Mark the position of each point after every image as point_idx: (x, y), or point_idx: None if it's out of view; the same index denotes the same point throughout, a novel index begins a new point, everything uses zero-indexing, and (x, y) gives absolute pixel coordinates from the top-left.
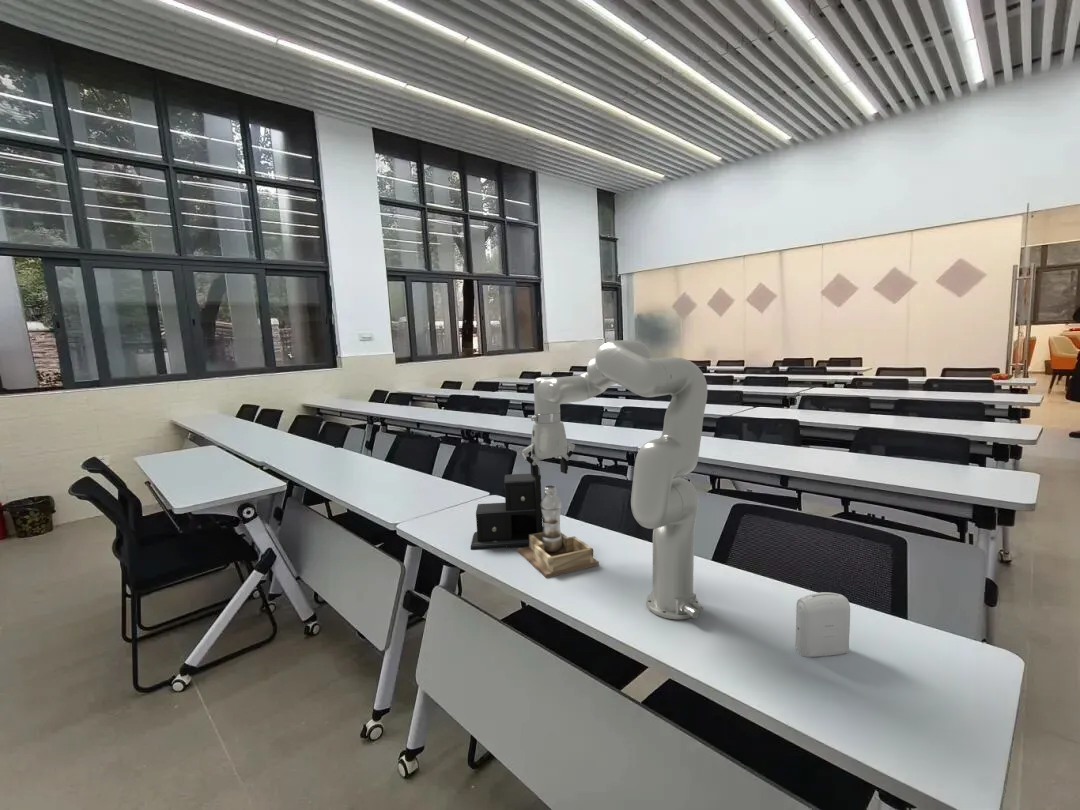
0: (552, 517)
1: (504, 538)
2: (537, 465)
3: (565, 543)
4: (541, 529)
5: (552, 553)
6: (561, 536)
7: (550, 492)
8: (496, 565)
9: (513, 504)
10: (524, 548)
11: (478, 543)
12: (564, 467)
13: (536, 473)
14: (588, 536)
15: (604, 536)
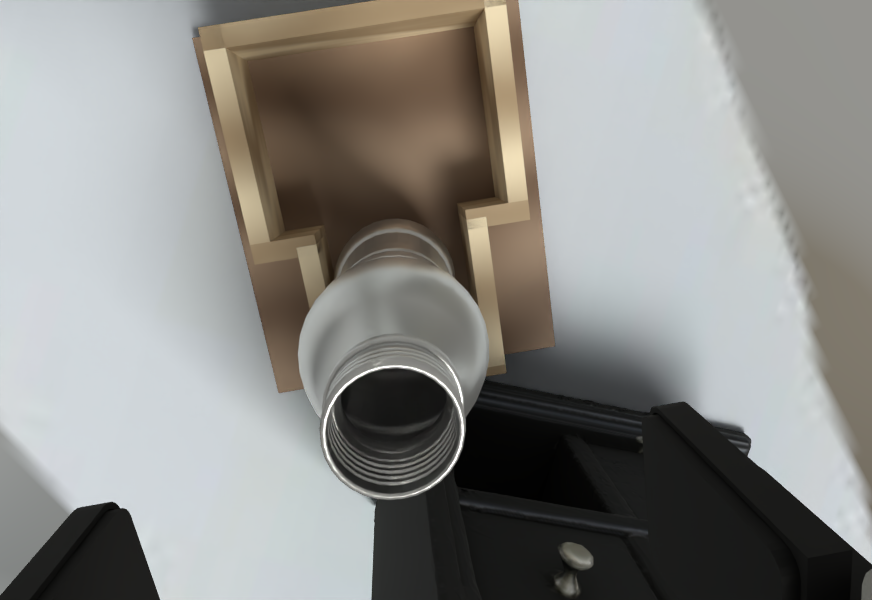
0: (406, 255)
1: (599, 448)
2: (802, 551)
3: (322, 247)
4: None
5: None
6: None
7: (415, 346)
8: (690, 224)
9: (618, 562)
10: (522, 337)
11: None
12: (72, 598)
13: (721, 440)
14: (144, 411)
15: (56, 385)
